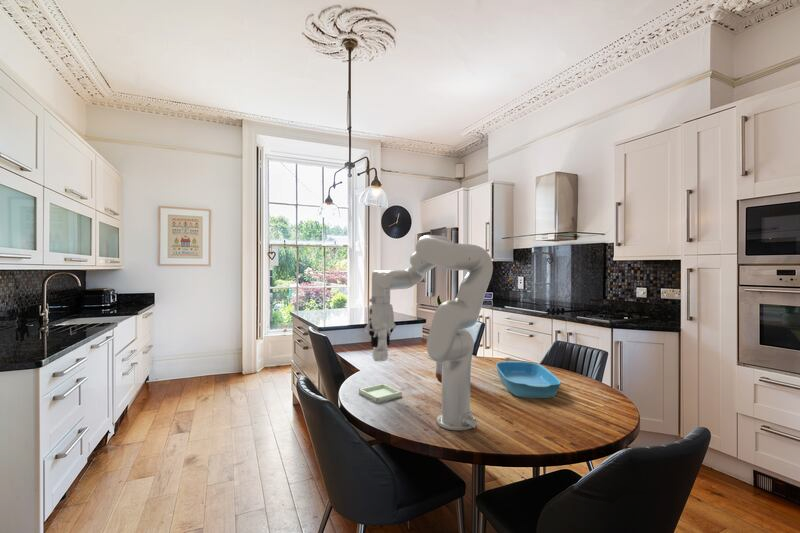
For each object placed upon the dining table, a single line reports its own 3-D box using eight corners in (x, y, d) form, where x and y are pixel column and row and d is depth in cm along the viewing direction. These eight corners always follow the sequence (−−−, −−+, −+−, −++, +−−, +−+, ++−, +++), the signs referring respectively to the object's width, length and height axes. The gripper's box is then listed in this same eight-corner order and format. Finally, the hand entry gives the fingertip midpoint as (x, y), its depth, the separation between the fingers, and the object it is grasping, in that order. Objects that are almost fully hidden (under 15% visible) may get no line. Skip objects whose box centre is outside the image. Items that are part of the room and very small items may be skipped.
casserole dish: (568, 403, 146) (569, 385, 146) (510, 402, 147) (510, 383, 147) (537, 375, 183) (538, 360, 183) (491, 374, 184) (491, 360, 184)
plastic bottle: (374, 363, 149) (374, 313, 149) (370, 359, 155) (371, 311, 155) (390, 362, 151) (390, 312, 151) (386, 358, 157) (386, 310, 157)
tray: (401, 396, 152) (401, 391, 152) (376, 403, 144) (377, 398, 144) (382, 388, 162) (382, 383, 162) (358, 393, 155) (358, 389, 155)
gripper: (368, 302, 145) (367, 350, 145) (403, 300, 155) (402, 344, 155) (357, 301, 151) (357, 346, 151) (392, 299, 161) (391, 341, 161)
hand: (380, 345), depth 153 cm, fingers closed on plastic bottle, 5 cm apart
